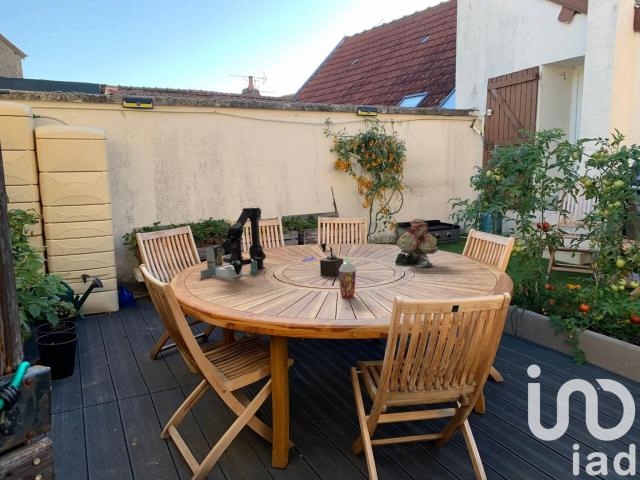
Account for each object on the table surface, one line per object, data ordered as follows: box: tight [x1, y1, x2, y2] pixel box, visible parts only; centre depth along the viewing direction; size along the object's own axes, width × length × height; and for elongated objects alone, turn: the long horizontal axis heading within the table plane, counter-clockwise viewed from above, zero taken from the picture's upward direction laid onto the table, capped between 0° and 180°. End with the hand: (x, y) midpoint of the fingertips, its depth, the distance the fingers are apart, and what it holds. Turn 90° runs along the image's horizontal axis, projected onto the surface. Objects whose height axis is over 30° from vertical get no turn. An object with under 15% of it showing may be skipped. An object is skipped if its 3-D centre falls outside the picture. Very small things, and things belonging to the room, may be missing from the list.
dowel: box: [249, 260, 258, 276], centre depth 266 cm, size 4×4×8 cm
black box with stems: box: [319, 242, 344, 278], centre depth 263 cm, size 16×11×18 cm
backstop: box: [200, 263, 251, 282], centre depth 262 cm, size 26×21×5 cm
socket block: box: [216, 265, 243, 279], centre depth 262 cm, size 11×11×5 cm
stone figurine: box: [395, 218, 439, 269], centre depth 285 cm, size 26×29×30 cm
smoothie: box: [338, 256, 357, 299], centre depth 214 cm, size 8×8×20 cm
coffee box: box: [205, 244, 224, 269], centre depth 276 cm, size 9×6×16 cm
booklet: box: [301, 256, 318, 262], centre depth 303 cm, size 12×25×1 cm, turn 53°
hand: (237, 274), depth 258 cm, fingers closed
